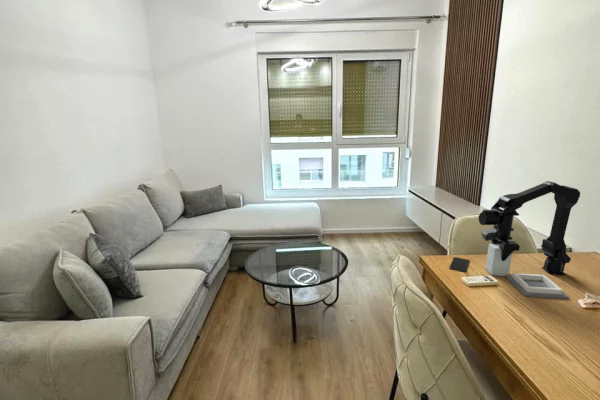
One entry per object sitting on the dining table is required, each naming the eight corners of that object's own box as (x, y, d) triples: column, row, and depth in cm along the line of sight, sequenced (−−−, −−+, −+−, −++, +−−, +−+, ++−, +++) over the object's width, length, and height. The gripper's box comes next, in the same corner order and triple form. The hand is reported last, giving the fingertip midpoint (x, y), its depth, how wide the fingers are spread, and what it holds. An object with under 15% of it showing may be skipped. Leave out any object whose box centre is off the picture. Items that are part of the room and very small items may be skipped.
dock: (544, 278, 139) (545, 273, 138) (569, 299, 123) (570, 292, 123) (505, 276, 141) (506, 270, 140) (524, 296, 126) (525, 289, 125)
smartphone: (453, 257, 161) (448, 269, 149) (453, 256, 161) (448, 267, 149) (470, 261, 157) (466, 273, 145) (470, 259, 157) (466, 271, 145)
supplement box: (508, 276, 141) (513, 250, 137) (490, 275, 142) (494, 249, 139) (502, 269, 148) (506, 244, 144) (484, 267, 149) (488, 242, 146)
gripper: (476, 217, 149) (472, 247, 153) (494, 231, 131) (488, 265, 135) (501, 218, 147) (496, 249, 151) (523, 232, 130) (516, 266, 134)
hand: (498, 257), depth 143 cm, fingers closed on supplement box, 7 cm apart
